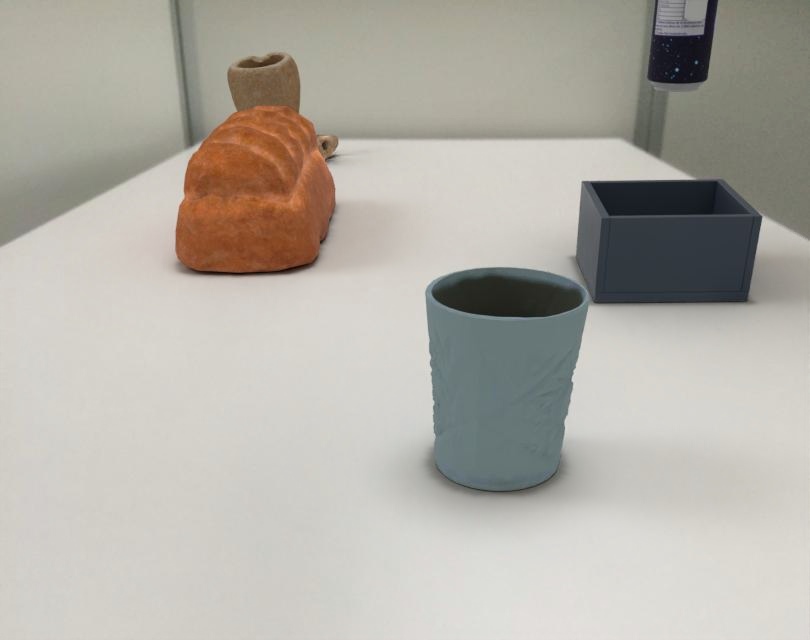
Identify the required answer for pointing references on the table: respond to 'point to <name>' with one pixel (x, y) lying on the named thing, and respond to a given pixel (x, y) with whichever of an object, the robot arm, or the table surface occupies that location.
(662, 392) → the table surface
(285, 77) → the stone cup
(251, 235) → the bread
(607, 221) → the bin
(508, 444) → the teal cup
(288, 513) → the table surface
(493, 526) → the table surface
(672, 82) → the beverage can
